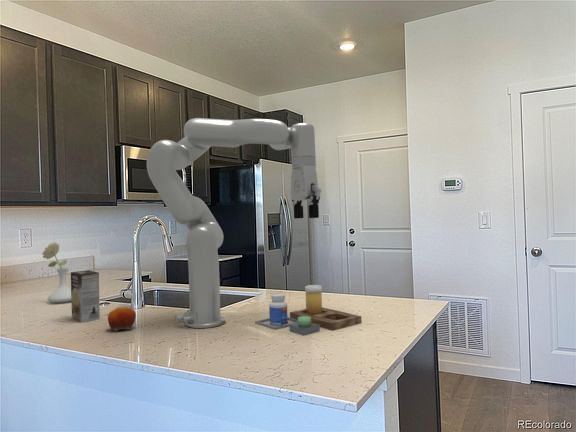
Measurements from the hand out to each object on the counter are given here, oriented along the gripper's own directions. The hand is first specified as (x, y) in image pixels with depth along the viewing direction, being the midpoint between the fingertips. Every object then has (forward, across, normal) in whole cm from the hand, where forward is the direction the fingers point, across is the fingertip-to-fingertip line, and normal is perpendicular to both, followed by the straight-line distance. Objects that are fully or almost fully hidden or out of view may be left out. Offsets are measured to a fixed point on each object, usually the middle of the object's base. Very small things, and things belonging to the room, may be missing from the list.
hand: (306, 218), depth 134 cm
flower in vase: (+31, -84, -71) cm, 114 cm away
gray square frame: (+32, 0, -11) cm, 34 cm away
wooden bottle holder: (+33, +5, +2) cm, 33 cm away
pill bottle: (+33, 0, -11) cm, 35 cm away
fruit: (+32, -24, -53) cm, 66 cm away
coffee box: (+32, -45, -63) cm, 83 cm away
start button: (+30, +12, -9) cm, 33 cm away
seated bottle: (+31, 0, +1) cm, 31 cm away
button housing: (+33, +12, -9) cm, 36 cm away
